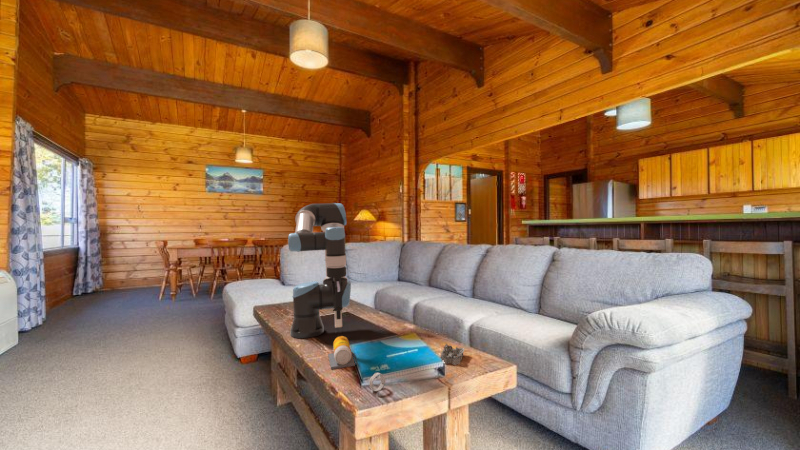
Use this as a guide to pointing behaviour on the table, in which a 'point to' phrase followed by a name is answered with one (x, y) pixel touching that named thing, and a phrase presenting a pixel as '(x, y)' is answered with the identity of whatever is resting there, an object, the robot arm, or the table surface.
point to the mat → (335, 365)
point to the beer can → (342, 350)
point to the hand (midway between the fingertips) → (338, 326)
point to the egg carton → (452, 354)
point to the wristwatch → (382, 381)
